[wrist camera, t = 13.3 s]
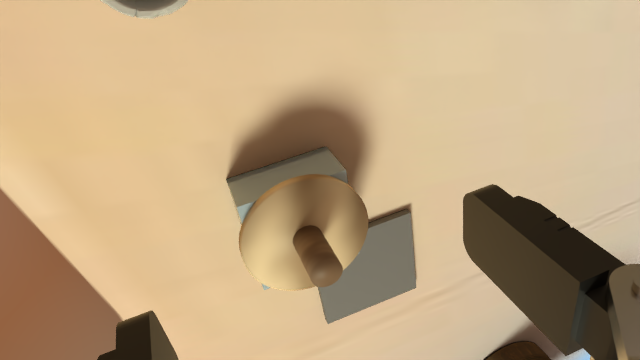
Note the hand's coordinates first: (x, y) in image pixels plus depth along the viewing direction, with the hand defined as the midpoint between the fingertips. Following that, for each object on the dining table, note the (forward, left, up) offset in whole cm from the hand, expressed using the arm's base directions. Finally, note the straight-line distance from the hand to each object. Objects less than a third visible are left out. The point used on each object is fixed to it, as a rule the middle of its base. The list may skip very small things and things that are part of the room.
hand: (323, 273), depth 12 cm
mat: (-11, +31, -30) cm, 45 cm away
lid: (-4, +19, -25) cm, 32 cm away
